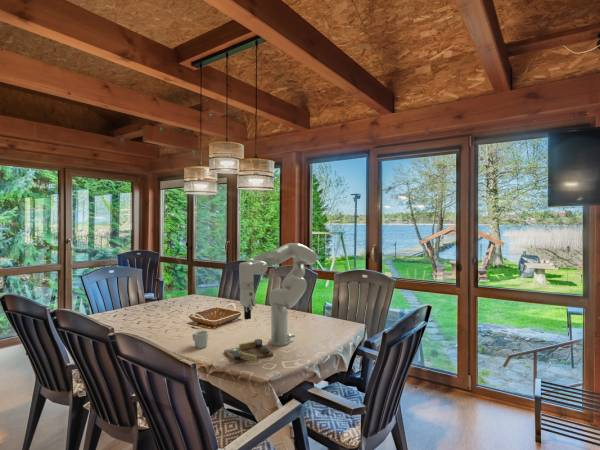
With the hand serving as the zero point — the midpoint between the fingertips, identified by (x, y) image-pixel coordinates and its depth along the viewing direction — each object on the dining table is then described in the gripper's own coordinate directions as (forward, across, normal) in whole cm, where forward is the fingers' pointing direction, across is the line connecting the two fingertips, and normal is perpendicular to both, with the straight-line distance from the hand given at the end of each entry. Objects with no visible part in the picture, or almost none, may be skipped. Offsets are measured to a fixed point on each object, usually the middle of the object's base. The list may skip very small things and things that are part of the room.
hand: (247, 318), depth 190 cm
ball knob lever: (+17, +2, -2) cm, 17 cm away
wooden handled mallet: (+16, -11, +7) cm, 21 cm away
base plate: (+19, -2, +1) cm, 19 cm away
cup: (+18, +25, +19) cm, 36 cm away
